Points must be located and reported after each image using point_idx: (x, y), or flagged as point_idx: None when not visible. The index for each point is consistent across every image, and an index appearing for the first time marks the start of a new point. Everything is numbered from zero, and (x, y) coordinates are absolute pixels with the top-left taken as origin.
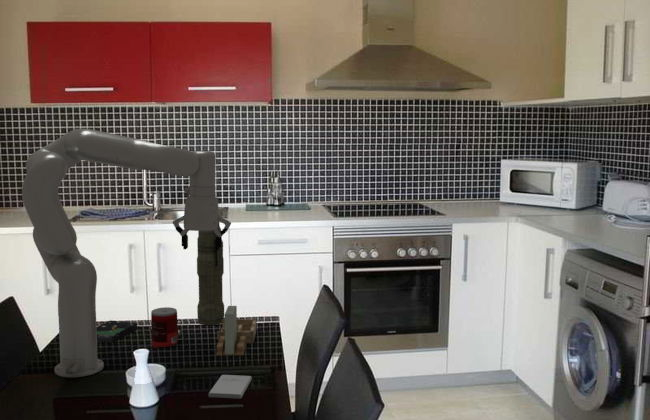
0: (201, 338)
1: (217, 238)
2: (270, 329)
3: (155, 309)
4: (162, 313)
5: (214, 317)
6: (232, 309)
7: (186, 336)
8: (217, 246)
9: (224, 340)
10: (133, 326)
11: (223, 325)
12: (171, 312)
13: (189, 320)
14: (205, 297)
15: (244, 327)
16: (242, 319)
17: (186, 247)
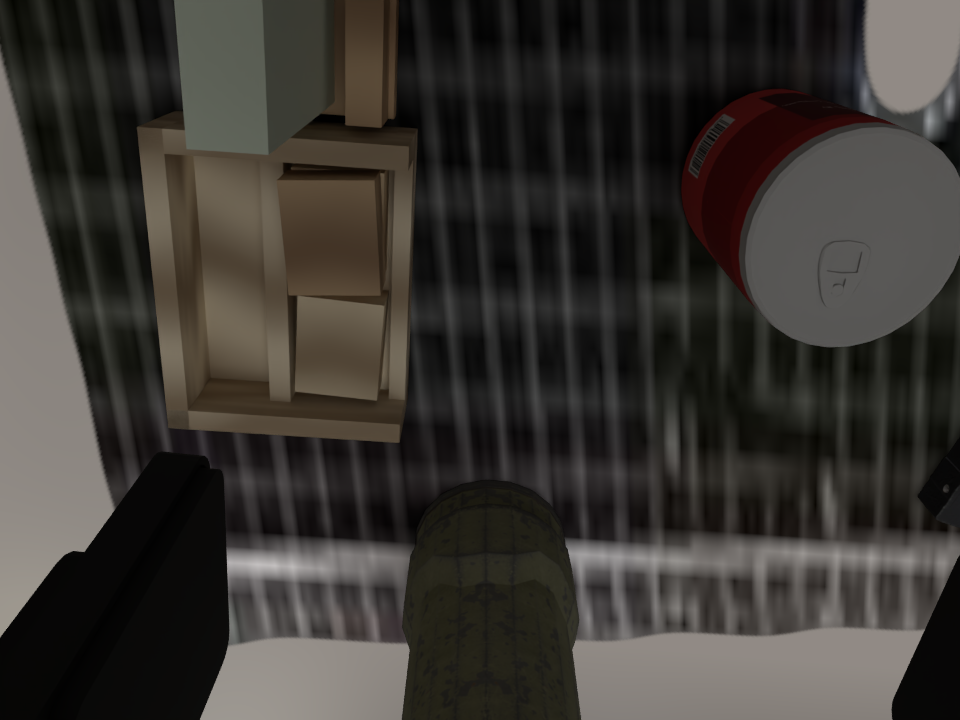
0: (530, 300)
1: (12, 689)
2: (122, 433)
3: (925, 293)
4: (868, 194)
5: (462, 520)
6: (202, 4)
7: (625, 345)
8: (134, 502)
9: (346, 31)
10: (955, 478)
11: (372, 270)
12: (789, 221)
13: (617, 615)
14: (524, 622)
15: (261, 390)
16: (263, 424)
17: (951, 624)
